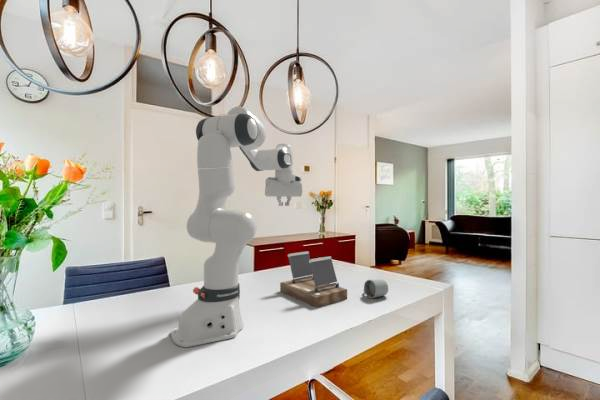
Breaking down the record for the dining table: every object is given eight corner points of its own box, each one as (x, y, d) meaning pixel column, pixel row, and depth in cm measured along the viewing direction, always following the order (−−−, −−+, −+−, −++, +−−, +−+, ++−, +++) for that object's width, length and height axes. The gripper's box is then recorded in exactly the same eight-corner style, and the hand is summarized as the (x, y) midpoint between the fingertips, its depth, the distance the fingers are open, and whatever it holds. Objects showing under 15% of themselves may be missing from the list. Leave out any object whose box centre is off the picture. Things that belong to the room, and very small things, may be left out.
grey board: (295, 277, 137) (290, 253, 140) (292, 278, 138) (287, 254, 142) (314, 274, 143) (308, 251, 147) (311, 274, 145) (305, 252, 148)
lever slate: (318, 285, 124) (311, 259, 127) (315, 286, 126) (308, 260, 129) (337, 281, 131) (330, 256, 134) (334, 282, 132) (327, 257, 136)
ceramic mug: (389, 297, 130) (389, 279, 130) (375, 300, 126) (375, 282, 126) (372, 291, 139) (372, 274, 139) (358, 294, 135) (358, 276, 135)
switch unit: (316, 307, 118) (316, 292, 118) (280, 291, 139) (280, 278, 139) (347, 298, 128) (347, 284, 128) (309, 284, 149) (309, 272, 149)
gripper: (269, 176, 139) (269, 206, 140) (304, 178, 152) (304, 205, 152) (262, 177, 145) (262, 206, 145) (296, 179, 157) (296, 205, 157)
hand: (284, 205), depth 148 cm, fingers closed
